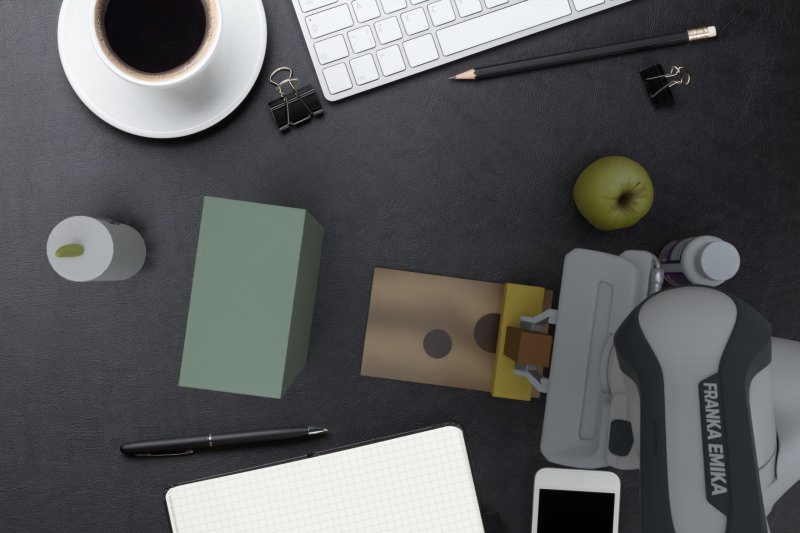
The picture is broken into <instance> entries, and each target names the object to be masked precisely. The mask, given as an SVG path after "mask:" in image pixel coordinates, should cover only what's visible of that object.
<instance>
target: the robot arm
mask: <svg viewBox="0 0 800 533" xmlns="http://www.w3.org/2000/svg"><path fill="white" fill-rule="evenodd" d="M664 280H665V278H664V270H663V269H660V263H659V258H658V257H657V256H656V255H655V254H654V253H653V252H651V251H650V250H642V249H628V250H627V249H626V250H625V251H623V252H621V253H620V254H619V255H616V254H613V253H608V252H603V251H599V250H593V249H588V248H581V247H580V248H579V247H576V248H573V249H572V250H571V251H569V252H567V253H566V254H565V256H564V259H563V268H562V276H561V284H560V291H559V297H558V306H557V309H552V308H551V309H548V310H546V311H544V312H542V313H540V314H538V315H537V316H535V317H529V316H521V317H520V325H519V330H523V331H529V332H538V333H542V328H543V325H545V324H547V323H549V324H551V325H555V329H554V338H553V343H552V344H553V345H552V351H551V352H552V353H551V359H550V366H549V367H550V369H549V375H548V376H549V377H545V376H544V375H543V374H541V373H540V372H539V371H537V366H533V365H525V364H518V363H516V362H515V364H514V372H513V374H515V375H520V376H524V377H526V378H527V379H528V381H529V382H530V383H531V384H532V385H533V386H534V387H535V388H536V389H537V390H538V391H539V392H540V393H543V394H546V400H545V408H544V415H543V422H542V431H541V438H540V444H539V447H540V448H539V449H540V450H539V451H540V452H541V454H542V455H543V457H544V458H545V459H546V460H547V461H548V462H550V463H552V464H556V465H561V466H565V467H570V468H574V469H575V468H576V469H584V470H594V469H599V468H600V469H601V468H607V467H612V468H615V469H617V470H623V471H630V470H631V471H633V470H638V471H639V489H638V490H639V494H638V495H639V496H638V530H637V533H771V530H770V525H769V522H768V518H770V516H771V514H772V513H773V511H774V509H775V505H776V503H777V502H778V501H779V500H780V498H781V497H782V496H784V494H785V493H786V492H787V491H788V490H790V488H792V487H793V486H794V485H795V484H796V483H797V482H798V481H800V341H797V340H793V339H788V338H783V337H777V336H772V332H773V330H772V326H771V323H770V322H769V320H768V319H767V318H766V317H764V316H763V315H762V314H761V313H760V312H759V310H757V309H756V308H753V306H751V305H750V304H749V303H747V302H746V301H744V300H743V299H741V298H740V297H738V296H737V295H735V294H732V292H731V293H730V292H729V291H726V290H724V289H722V288H721V287H718V286H714V287H713V286H709V285H702V284H684V285H677V286H675V285H672V286H668V287H665V288H662V287H663V284H664Z"/></svg>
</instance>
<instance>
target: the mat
mask: <svg viewBox="0 0 800 533" xmlns="http://www.w3.org/2000/svg"><path fill="white" fill-rule="evenodd" d="M504 286H505V283H499V282H493V281H492V282H491V281H484V280H476V279H469V278H461V277H454V276H447V275H445V276H444V275H439V274H432V273H425V272H417V271H408V270H401V269H394V268H387V267H379V266H374V268H373V274H372V284H371V289H370V290H371V291H370V298H369V305H368V312H367V314H368V315H367V320H366V327H365V336H364V343H363V350H362V356H361V365H360V373H359V375H360V376H364V377H371V378H379V379H386V380H393V381H402V382H403V381H404V382H408V383H409V382H410V383H418V384H426V385H433V386H441V387H450V388H458V389H465V390H472V391H480V392H488V393H491V387H492V379H493V371H494V364H495V356H496V348H497V340H498V333H499V325H500V317H501V310H502V302H503V294H504ZM553 296H554V290H551V289H545V291H544V298H543V306H542V312H544V311H546V310H548V309H552V305H553ZM549 327H550V323H547V324H545V325H543V328H542V333H545V334H548V335H549ZM537 371H539V372H540V373H541V374H542V375H543V373H544V367H541V366H537ZM540 396H541V392H539V391H538V390H537V389H536V388H535V387H534V386H533V385H532V391H531V398H536V399H540Z"/></svg>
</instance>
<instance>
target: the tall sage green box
mask: <svg viewBox="0 0 800 533" xmlns="http://www.w3.org/2000/svg"><path fill="white" fill-rule="evenodd" d="M202 203H203V204H202V211H201V217H200V226H199V232H198V240H197V247H196V254H195V261H194V270H193V275H192V283H191V284H192V285H191V291H190V296H189V297H190V298H189V306H188V313H187V321H186V327H185V335H184V342H183V350H182V357H181V363H180V370H179V377H178V378H179V379H178V387H183V388H189V389H190V388H191V389H199V390H207V391H216V392H223V393H231V394H238V395H239V394H240V395H247V396H255V397H262V398H271V399H278V400H280V399H282V397H283V396H284V395H285V393H286V392H287V390H288V389H289V388H290V386H291V385H292V384H293V383H294V381H295V380H296V378H297V377H298V375H299V374H300V373H301V371H303V369H304V367H305V366H306V365H307V363H308V355H309V348H310V341H311V333H312V326H313V319H314V318H313V317H314V313H315V312H314V311H315V304H316V297H317V288H318V282H319V275H320V274H319V272H320V266H321V258H322V253H323V252H322V250H323V244H324V237H325V230H326V229H325V227H324V226H323V225H322V224H321V223H320V222H319V221H318V219H316V218H315V217H314V216H313V215H312V214H311V213H310V212H309V211H308V210H307V209H305V208H299V207H292V206H291V207H290V206H283V205H277V204H270V203H261V202H254V201H246V200H239V199H232V198H226V197H225V198H224V197H217V196H210V195H204V196H203V202H202Z"/></svg>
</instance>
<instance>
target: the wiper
mask: <svg viewBox="0 0 800 533" xmlns="http://www.w3.org/2000/svg"><path fill="white" fill-rule="evenodd" d="M504 284H505V286H504V294H503V302H502V310H501V317H500V325H499V333H498V340H497V348H496V356H495V364H494V371H493V379H492V387H491V392H490V395H491V396H492V397H493V398H495V397H496V398H502V399H509V400H510V399H511V400H518V401H519V400H520V401H525V402H526V401H527V402H531V400H532V397H531V391H532V384H531V383H530V382H529V381H528V379H527V378H526V377H524V376H520V375H515V374H513V372H514V364H515V362H516V363H518V364H525V365H533V366H541V367H543V368H549V367H550V362H551V354H552V353H551V352H552V346H553V345H552V344H553V339H554V338H553V335H550V334H549V333H548V334H545V333H538V332H529V331H523V330H519V325H520V317H521V316H529V317H535V316H537V315H538V314H540V313H542V306H543V298H544V291H545V290H546V288H545V287H542V286H534V285H527V284H519V283H512V282H511V283H510V282H505V283H504Z"/></svg>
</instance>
